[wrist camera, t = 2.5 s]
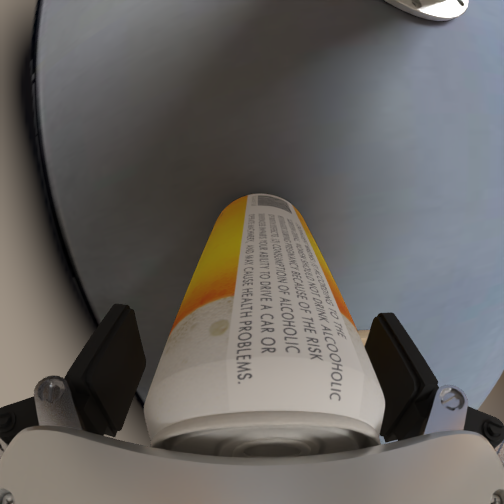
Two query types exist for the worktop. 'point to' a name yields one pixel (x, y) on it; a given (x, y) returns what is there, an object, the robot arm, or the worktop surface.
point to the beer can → (263, 348)
